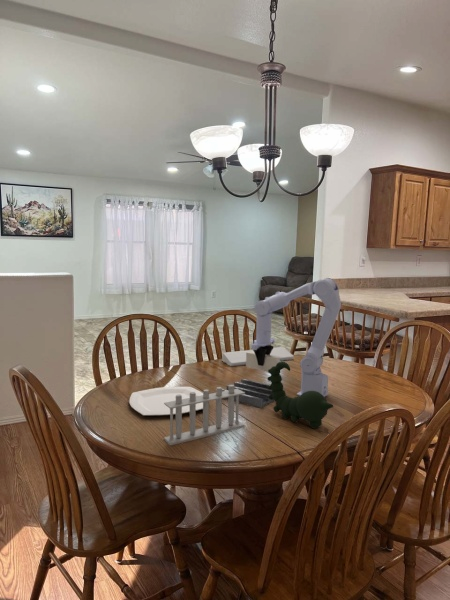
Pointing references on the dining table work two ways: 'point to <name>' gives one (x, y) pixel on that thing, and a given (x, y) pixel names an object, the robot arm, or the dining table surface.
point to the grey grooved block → (252, 393)
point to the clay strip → (268, 361)
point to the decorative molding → (240, 356)
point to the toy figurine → (297, 400)
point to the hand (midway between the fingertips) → (262, 364)
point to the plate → (161, 400)
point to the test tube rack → (206, 429)
